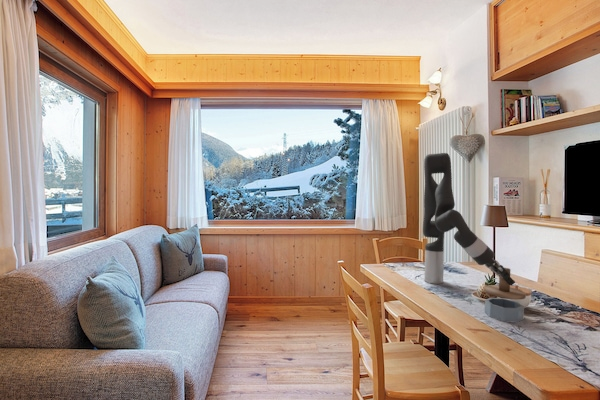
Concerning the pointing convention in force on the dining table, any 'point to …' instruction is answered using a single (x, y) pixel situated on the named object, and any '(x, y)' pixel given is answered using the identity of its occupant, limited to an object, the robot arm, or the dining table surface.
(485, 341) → the dining table surface
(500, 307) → the ceramic bowl
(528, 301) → the lidded jar
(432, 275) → the robot arm
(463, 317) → the dining table surface
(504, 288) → the walnut lid
